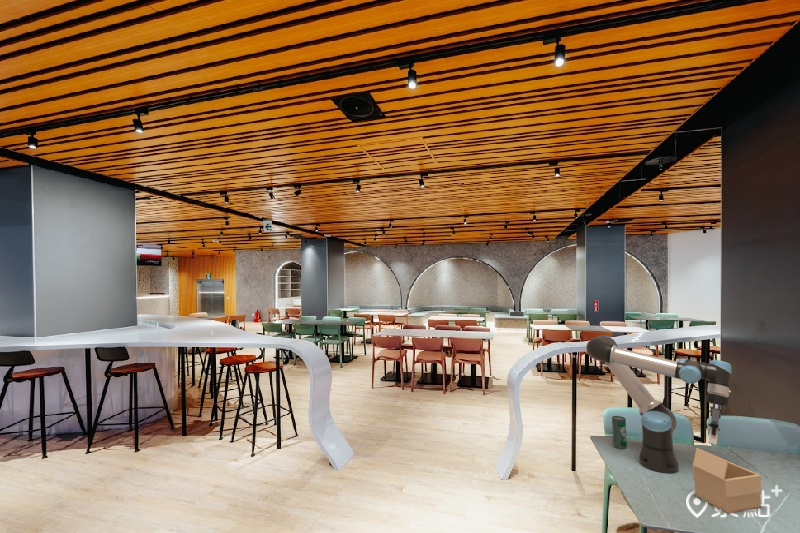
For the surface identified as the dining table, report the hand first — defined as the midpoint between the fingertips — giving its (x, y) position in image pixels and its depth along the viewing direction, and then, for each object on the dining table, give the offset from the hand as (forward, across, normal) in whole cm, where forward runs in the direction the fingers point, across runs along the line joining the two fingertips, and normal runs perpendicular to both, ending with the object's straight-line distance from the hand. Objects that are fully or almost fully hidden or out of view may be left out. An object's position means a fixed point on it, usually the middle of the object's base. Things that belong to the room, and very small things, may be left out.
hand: (712, 443), depth 166 cm
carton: (+20, -15, -6) cm, 26 cm away
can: (+15, +15, +36) cm, 42 cm away
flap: (+8, -25, 0) cm, 27 cm away
